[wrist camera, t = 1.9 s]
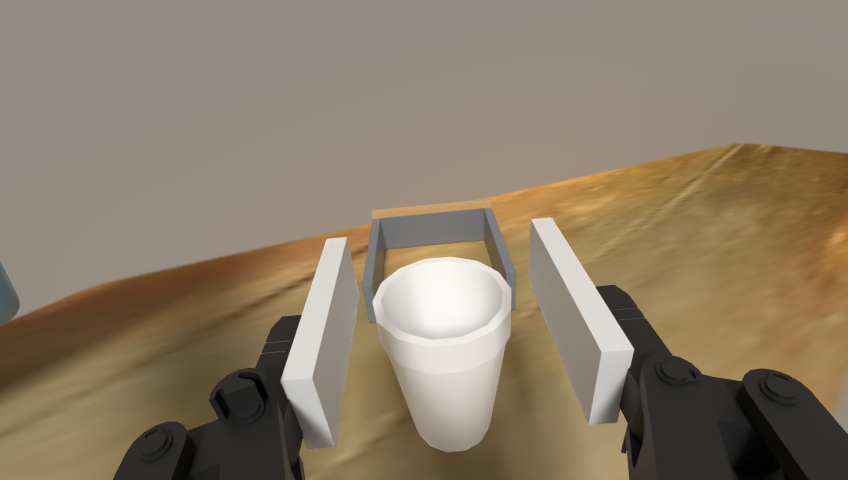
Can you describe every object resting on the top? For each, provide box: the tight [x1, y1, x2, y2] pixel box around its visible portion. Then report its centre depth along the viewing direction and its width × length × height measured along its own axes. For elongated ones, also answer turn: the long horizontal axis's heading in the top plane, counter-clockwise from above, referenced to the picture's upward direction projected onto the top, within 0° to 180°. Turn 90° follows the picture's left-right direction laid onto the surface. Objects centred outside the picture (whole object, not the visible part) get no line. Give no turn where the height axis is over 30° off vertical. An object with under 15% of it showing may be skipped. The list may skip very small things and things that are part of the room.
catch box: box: [362, 199, 516, 323], centre depth 51 cm, size 16×16×6 cm
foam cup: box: [372, 257, 511, 452], centre depth 32 cm, size 10×9×13 cm
